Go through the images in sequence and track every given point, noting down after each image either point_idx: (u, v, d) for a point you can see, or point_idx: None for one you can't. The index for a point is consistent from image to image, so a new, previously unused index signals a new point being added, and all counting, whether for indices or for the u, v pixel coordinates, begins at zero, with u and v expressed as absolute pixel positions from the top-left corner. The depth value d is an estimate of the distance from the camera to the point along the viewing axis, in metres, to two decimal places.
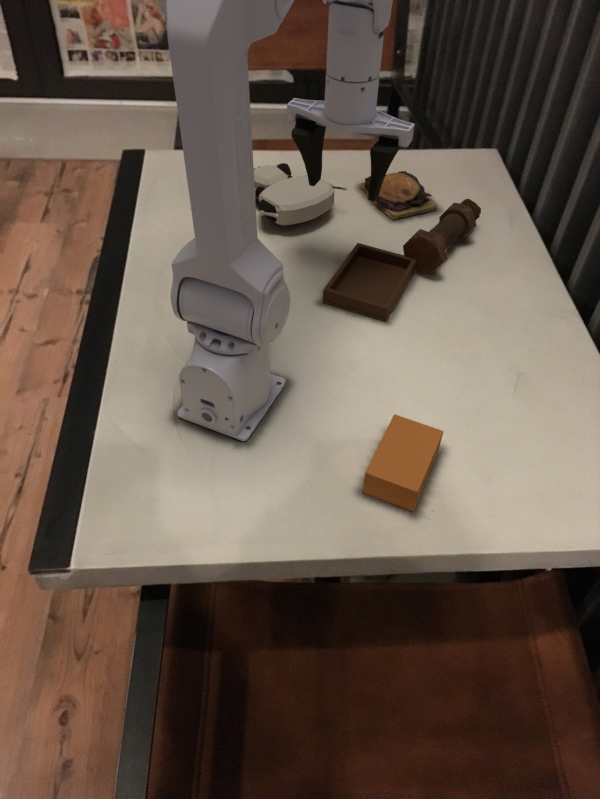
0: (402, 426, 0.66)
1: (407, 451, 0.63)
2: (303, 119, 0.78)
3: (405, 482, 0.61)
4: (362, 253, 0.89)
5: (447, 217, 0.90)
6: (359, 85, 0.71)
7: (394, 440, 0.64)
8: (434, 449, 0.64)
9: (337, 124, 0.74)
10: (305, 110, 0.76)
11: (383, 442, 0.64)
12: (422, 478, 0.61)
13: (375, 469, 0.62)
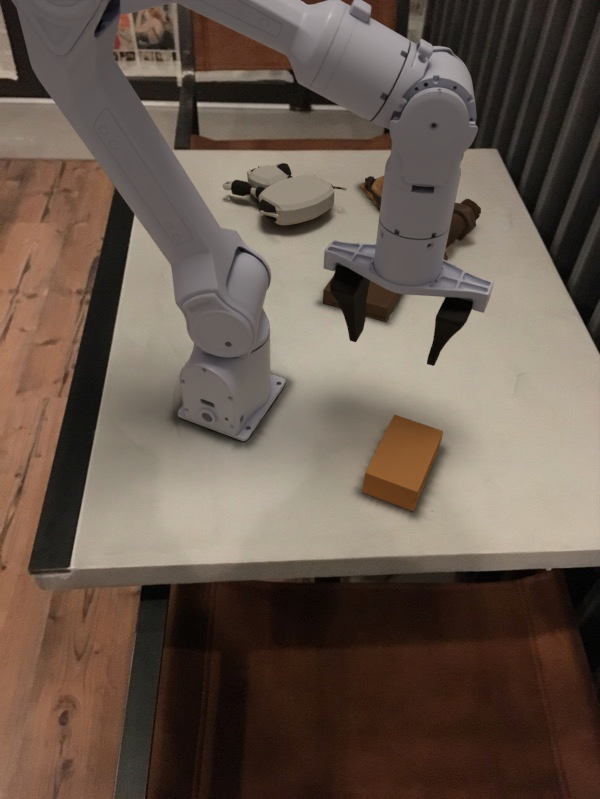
0: (402, 426, 0.66)
1: (407, 451, 0.63)
2: (345, 268, 0.60)
3: (405, 482, 0.61)
4: None
5: None
6: (425, 242, 0.53)
7: (394, 440, 0.64)
8: (434, 449, 0.64)
9: (393, 284, 0.56)
10: (349, 261, 0.58)
11: (383, 442, 0.64)
12: (422, 478, 0.61)
13: (375, 469, 0.62)
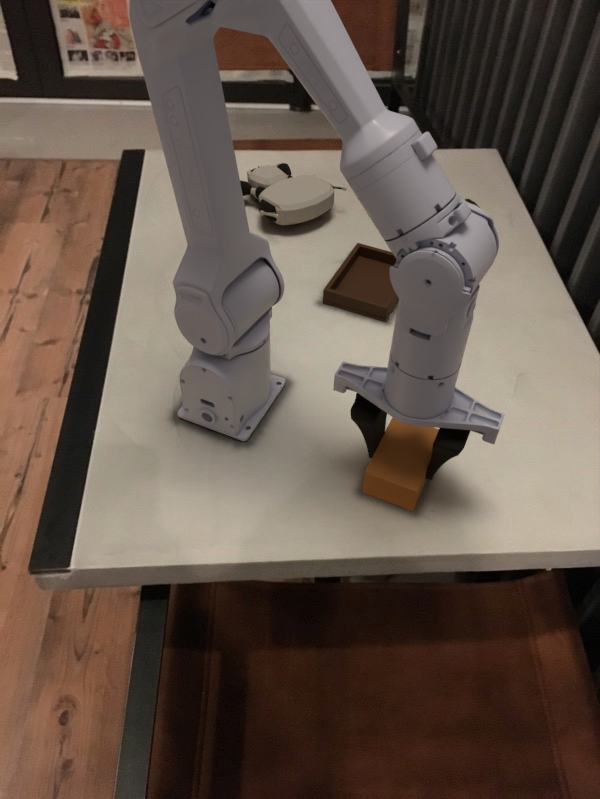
0: (402, 426, 0.66)
1: (407, 451, 0.63)
2: None
3: (404, 481, 0.61)
4: (362, 253, 0.89)
5: None
6: (436, 382, 0.53)
7: (393, 440, 0.64)
8: None
9: (403, 416, 0.56)
10: (359, 387, 0.58)
11: (383, 442, 0.64)
12: (422, 478, 0.61)
13: (374, 468, 0.62)
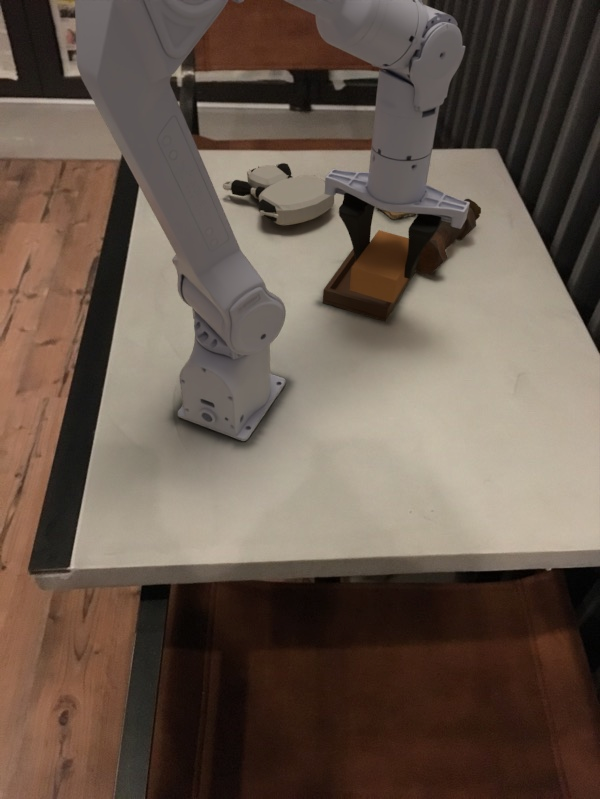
0: (385, 238, 0.75)
1: (388, 254, 0.73)
2: (352, 195, 0.70)
3: (386, 273, 0.71)
4: None
5: None
6: (410, 163, 0.63)
7: (377, 247, 0.74)
8: None
9: (383, 203, 0.66)
10: (346, 185, 0.68)
11: (368, 248, 0.74)
12: (400, 271, 0.71)
13: (360, 265, 0.72)
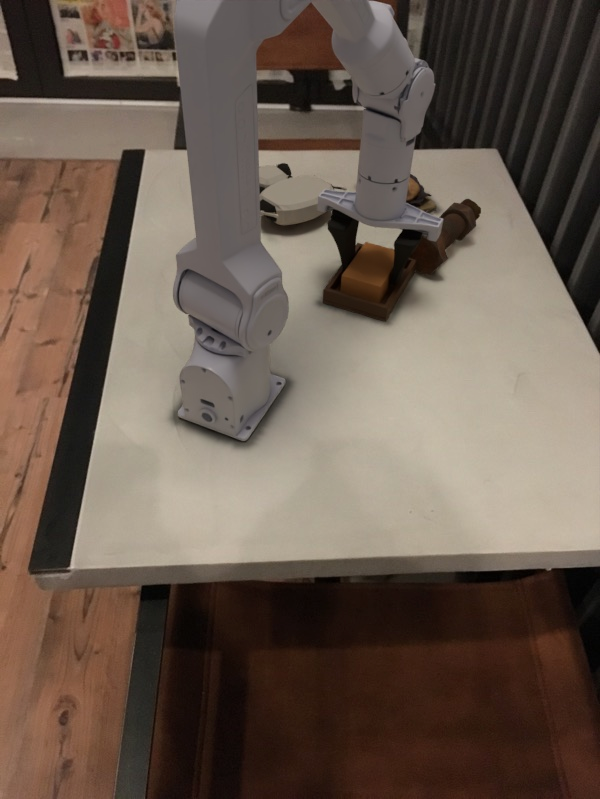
0: (371, 249, 0.85)
1: (374, 263, 0.83)
2: (339, 211, 0.80)
3: (371, 280, 0.81)
4: None
5: (447, 217, 0.90)
6: (391, 186, 0.73)
7: (364, 257, 0.84)
8: None
9: (368, 219, 0.76)
10: (336, 203, 0.78)
11: (356, 258, 0.84)
12: (384, 278, 0.81)
13: (349, 273, 0.82)
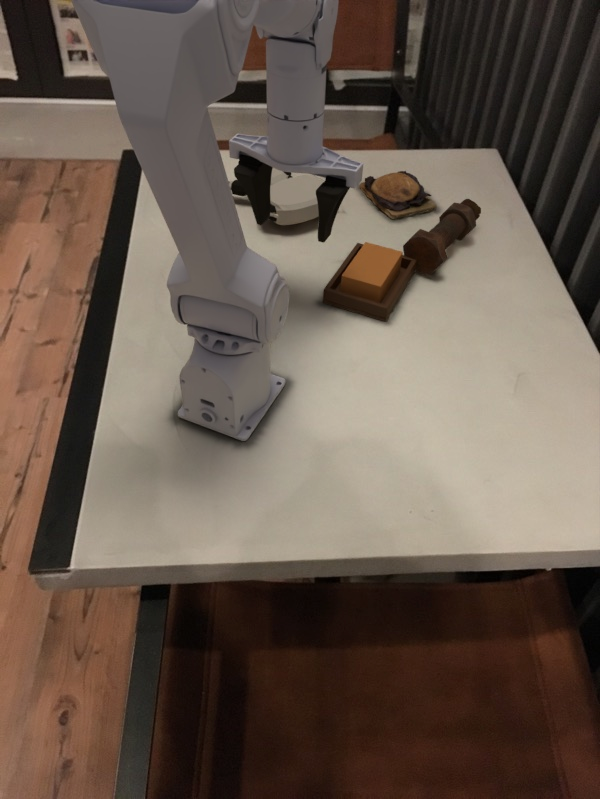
0: (371, 249, 0.85)
1: (374, 263, 0.83)
2: (247, 156, 0.73)
3: (371, 280, 0.81)
4: None
5: (447, 217, 0.90)
6: (301, 124, 0.66)
7: (364, 257, 0.84)
8: (395, 262, 0.83)
9: (280, 164, 0.69)
10: (247, 147, 0.71)
11: (356, 258, 0.84)
12: (384, 278, 0.81)
13: (349, 273, 0.82)
